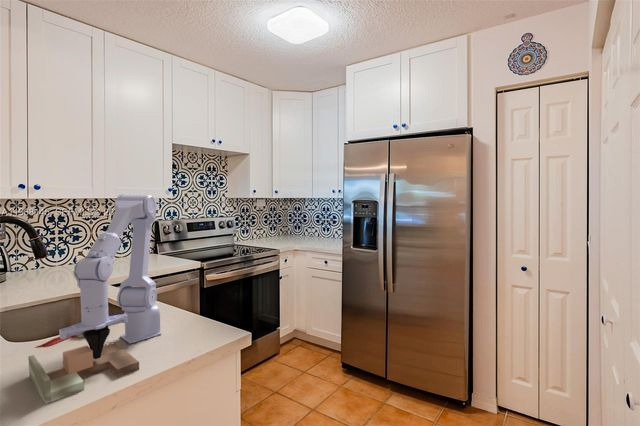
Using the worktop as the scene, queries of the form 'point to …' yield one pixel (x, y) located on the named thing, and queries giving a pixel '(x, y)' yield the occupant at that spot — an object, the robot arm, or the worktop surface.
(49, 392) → the blocky structure
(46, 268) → the worktop surface
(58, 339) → the cayenne pepper
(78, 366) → the block
